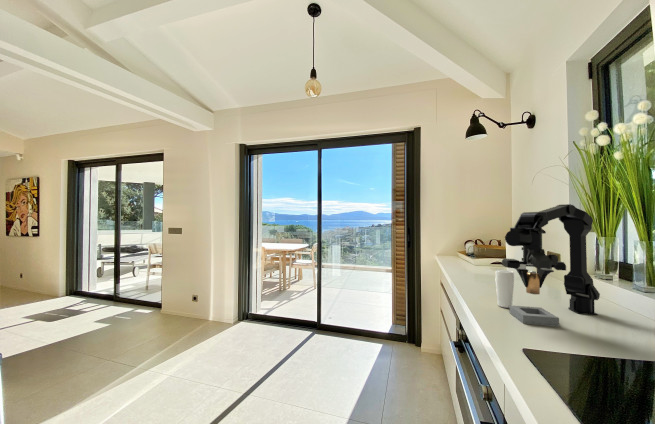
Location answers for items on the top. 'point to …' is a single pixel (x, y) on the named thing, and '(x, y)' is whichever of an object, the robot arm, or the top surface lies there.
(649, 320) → the top surface
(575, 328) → the top surface
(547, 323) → the gray cradle
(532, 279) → the battery cell
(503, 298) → the drinking glass
